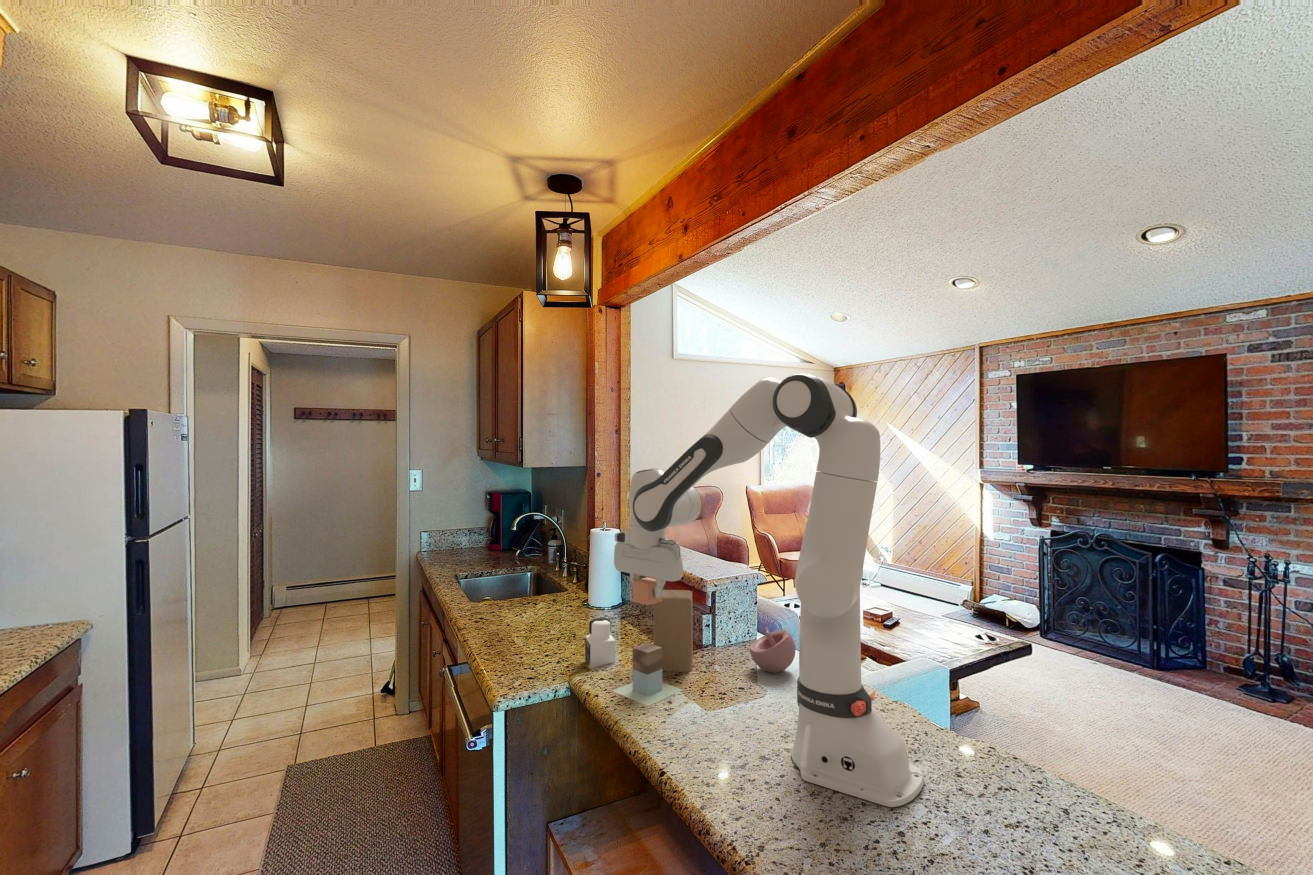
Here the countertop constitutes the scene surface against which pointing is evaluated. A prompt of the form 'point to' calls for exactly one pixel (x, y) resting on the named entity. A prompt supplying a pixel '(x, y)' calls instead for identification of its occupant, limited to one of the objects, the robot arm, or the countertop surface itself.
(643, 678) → the brick
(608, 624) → the medicine bottle
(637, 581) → the brick
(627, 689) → the plate
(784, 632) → the mortar and pestle
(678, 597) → the block
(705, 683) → the countertop surface
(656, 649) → the brick
